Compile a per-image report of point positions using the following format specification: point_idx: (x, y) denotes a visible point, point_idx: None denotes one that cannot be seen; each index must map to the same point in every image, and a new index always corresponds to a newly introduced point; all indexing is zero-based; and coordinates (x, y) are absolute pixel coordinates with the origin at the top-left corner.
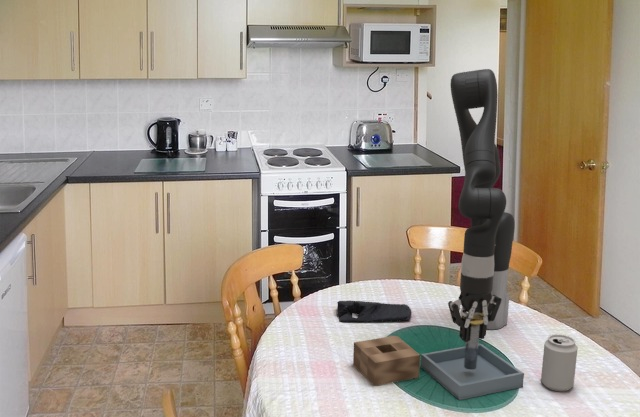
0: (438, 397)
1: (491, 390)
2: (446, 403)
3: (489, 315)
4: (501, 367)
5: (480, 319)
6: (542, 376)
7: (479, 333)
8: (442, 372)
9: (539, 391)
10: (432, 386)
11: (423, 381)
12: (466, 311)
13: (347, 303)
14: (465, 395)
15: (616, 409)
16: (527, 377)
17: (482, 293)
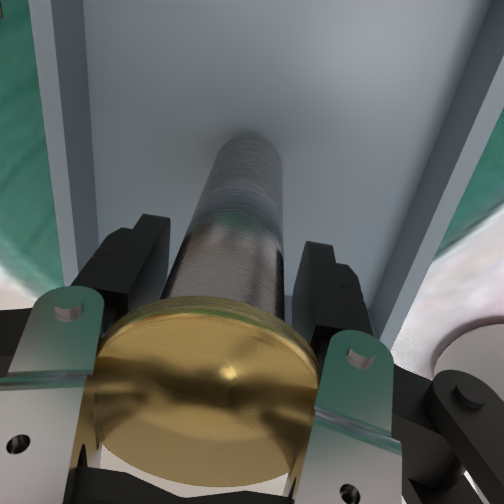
0: (24, 215)
1: None
2: (36, 259)
3: (429, 472)
4: (415, 214)
5: (247, 465)
6: (456, 365)
7: (300, 290)
8: (51, 169)
9: (396, 353)
10: (37, 132)
11: (13, 67)
12: (78, 448)
13: None
14: None
15: (472, 482)
16: (466, 275)
17: None
